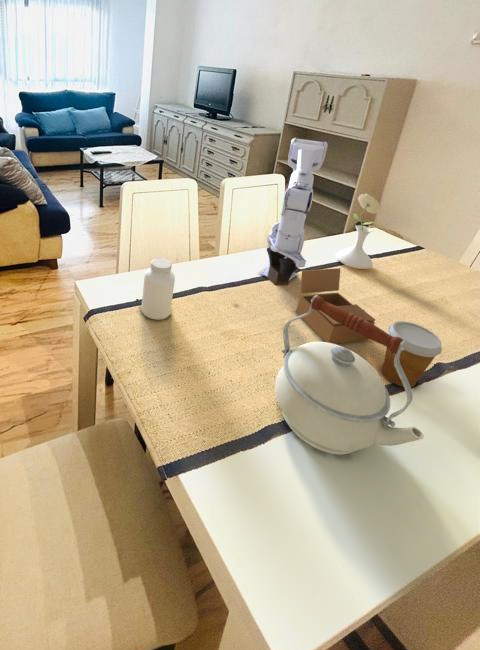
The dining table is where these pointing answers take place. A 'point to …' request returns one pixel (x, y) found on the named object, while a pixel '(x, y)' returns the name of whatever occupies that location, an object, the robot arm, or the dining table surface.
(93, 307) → the dining table surface
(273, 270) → the block
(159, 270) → the pill bottle
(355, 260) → the flower in vase
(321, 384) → the kettle
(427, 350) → the disposable coffee cup
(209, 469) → the dining table surface
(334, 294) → the carton
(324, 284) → the flap
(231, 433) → the dining table surface
